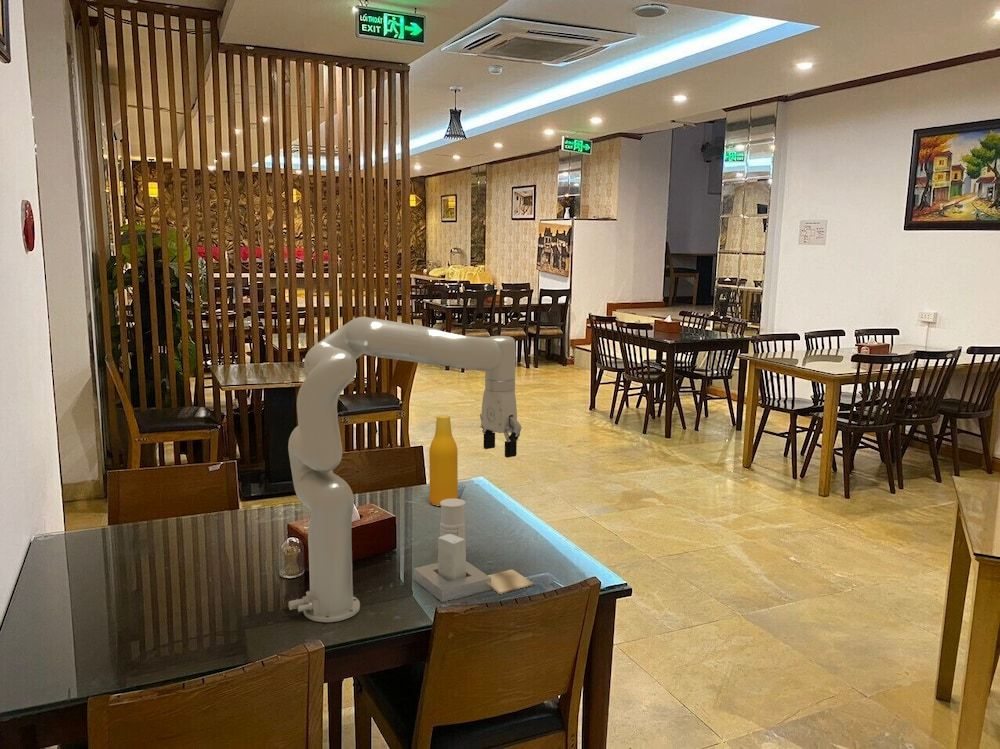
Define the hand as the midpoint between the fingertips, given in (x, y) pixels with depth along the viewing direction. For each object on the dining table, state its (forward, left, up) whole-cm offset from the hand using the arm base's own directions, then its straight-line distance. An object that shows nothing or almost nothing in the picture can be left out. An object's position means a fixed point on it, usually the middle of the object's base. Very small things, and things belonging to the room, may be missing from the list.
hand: (499, 452), depth 193 cm
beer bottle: (+13, +55, -31) cm, 65 cm away
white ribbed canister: (-6, +14, -31) cm, 35 cm away
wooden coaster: (-3, -8, -31) cm, 32 cm away
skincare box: (-15, -2, -31) cm, 35 cm away
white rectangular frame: (-15, -2, -31) cm, 35 cm away
